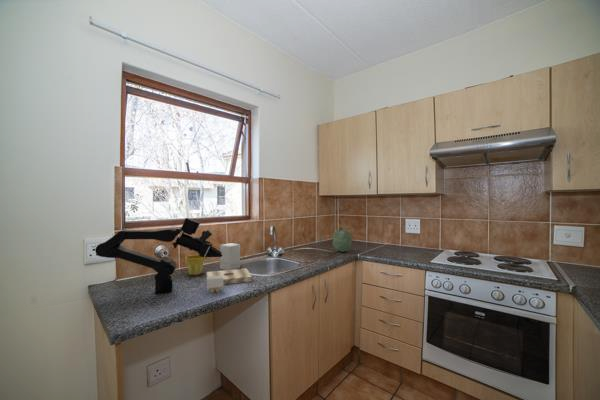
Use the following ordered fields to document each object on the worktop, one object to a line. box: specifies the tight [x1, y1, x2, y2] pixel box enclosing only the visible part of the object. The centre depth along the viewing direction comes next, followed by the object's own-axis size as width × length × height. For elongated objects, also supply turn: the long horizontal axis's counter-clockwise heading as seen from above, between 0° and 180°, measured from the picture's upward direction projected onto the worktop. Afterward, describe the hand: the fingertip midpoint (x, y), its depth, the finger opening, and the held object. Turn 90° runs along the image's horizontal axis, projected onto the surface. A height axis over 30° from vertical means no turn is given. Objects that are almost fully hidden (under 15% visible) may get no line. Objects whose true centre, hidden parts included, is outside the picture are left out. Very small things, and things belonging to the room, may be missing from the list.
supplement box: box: [219, 242, 241, 271], centre depth 150 cm, size 9×9×15 cm
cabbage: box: [332, 228, 353, 253], centre depth 205 cm, size 16×19×20 cm
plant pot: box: [184, 254, 206, 276], centre depth 139 cm, size 10×10×10 cm
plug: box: [206, 275, 224, 293], centre depth 113 cm, size 7×5×6 cm, turn 113°
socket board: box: [206, 267, 253, 285], centre depth 130 cm, size 22×16×2 cm
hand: (221, 254), depth 119 cm, fingers open, 9 cm apart
